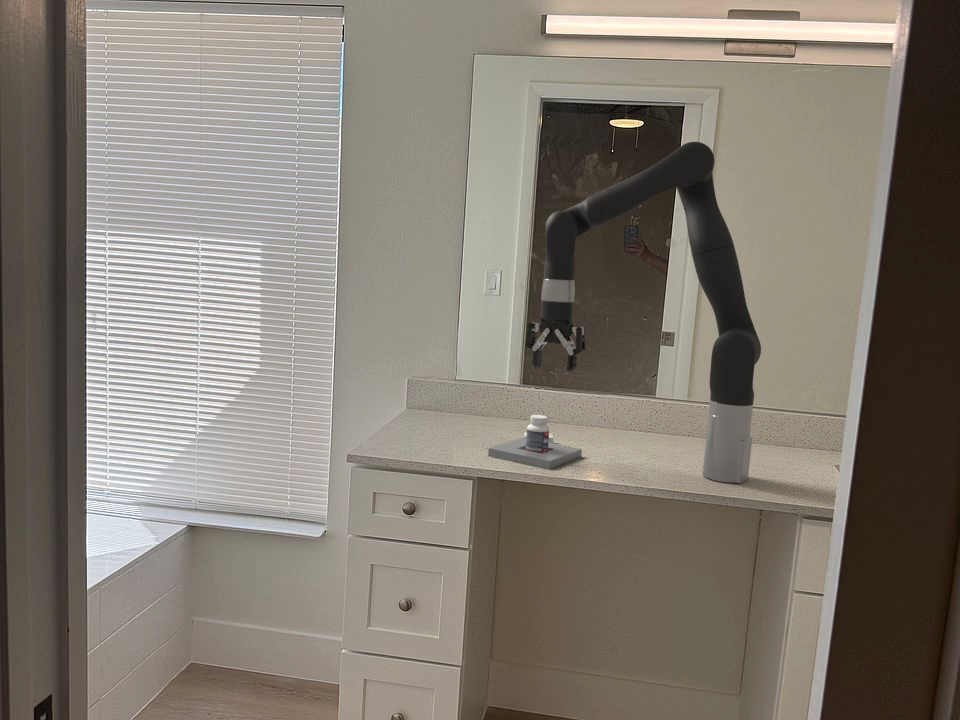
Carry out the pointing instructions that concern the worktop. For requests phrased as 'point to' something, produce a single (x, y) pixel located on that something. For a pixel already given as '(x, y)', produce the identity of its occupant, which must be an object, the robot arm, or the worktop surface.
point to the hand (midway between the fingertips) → (553, 369)
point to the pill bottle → (537, 434)
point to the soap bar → (549, 437)
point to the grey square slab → (535, 454)
